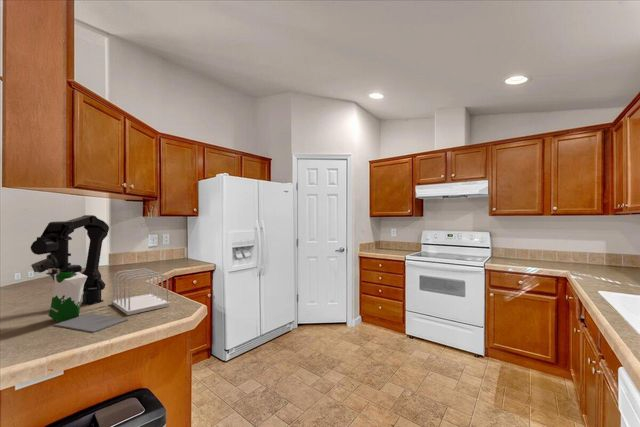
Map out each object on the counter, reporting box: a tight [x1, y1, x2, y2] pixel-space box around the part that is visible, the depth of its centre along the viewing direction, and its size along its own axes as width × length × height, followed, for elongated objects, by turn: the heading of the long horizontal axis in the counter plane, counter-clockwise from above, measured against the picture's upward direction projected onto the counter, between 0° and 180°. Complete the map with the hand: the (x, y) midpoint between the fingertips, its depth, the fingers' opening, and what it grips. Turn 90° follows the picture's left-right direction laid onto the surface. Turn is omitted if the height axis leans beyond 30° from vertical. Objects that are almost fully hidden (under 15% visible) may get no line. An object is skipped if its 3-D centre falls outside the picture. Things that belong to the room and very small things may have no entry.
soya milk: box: [48, 271, 87, 323], centre depth 119 cm, size 9×9×20 cm
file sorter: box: [111, 268, 171, 316], centre depth 137 cm, size 25×17×16 cm
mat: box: [53, 313, 129, 334], centre depth 114 cm, size 13×22×1 cm, turn 72°
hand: (59, 288), depth 120 cm, fingers closed
